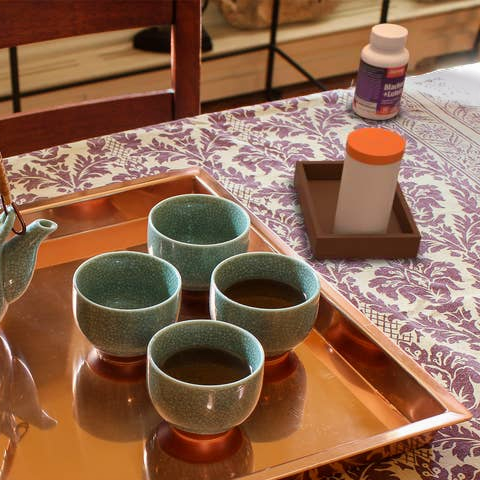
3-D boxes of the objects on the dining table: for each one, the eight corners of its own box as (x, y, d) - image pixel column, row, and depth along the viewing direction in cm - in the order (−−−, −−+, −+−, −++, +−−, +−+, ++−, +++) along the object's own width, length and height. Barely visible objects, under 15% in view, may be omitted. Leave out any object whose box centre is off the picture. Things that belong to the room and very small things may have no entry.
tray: (293, 181, 99) (295, 160, 98) (385, 180, 99) (389, 159, 98) (313, 259, 89) (317, 237, 87) (416, 258, 89) (421, 236, 87)
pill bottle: (384, 125, 108) (399, 44, 102) (343, 112, 111) (356, 31, 105) (406, 109, 111) (423, 28, 105) (366, 96, 114) (380, 16, 108)
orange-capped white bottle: (380, 219, 93) (398, 127, 86) (391, 249, 89) (412, 155, 82) (327, 219, 93) (342, 127, 86) (336, 249, 89) (352, 155, 82)
